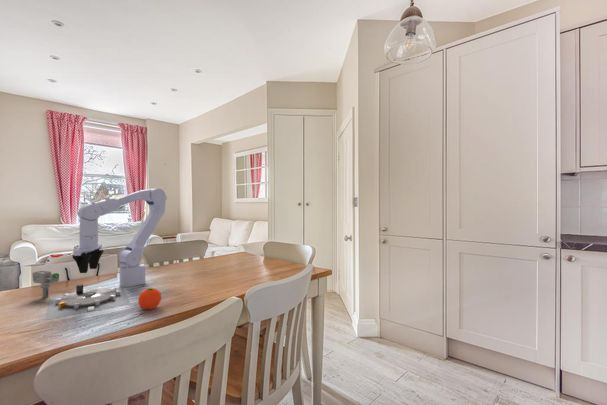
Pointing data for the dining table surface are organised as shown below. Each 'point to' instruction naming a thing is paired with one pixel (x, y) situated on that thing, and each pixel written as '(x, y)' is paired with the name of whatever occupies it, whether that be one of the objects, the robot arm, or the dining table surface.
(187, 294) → the dining table surface
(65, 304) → the sprocket
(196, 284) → the dining table surface
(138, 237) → the robot arm
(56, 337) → the dining table surface
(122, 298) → the index board
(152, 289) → the clementine
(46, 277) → the mechanical component
